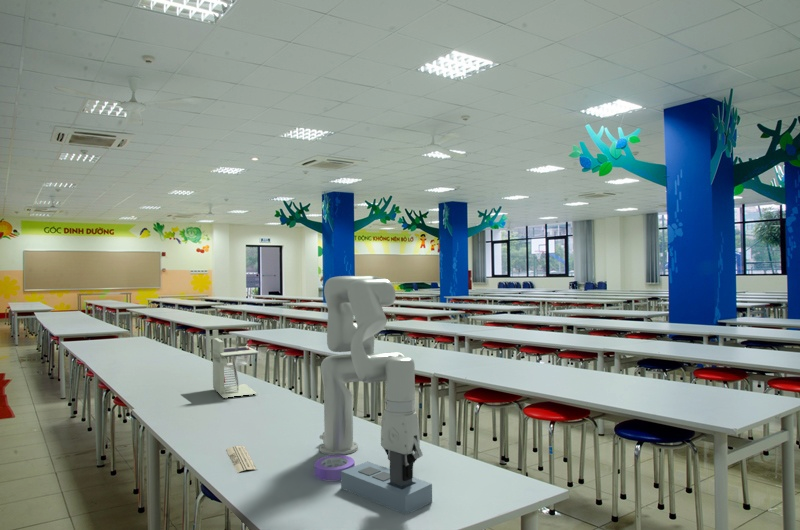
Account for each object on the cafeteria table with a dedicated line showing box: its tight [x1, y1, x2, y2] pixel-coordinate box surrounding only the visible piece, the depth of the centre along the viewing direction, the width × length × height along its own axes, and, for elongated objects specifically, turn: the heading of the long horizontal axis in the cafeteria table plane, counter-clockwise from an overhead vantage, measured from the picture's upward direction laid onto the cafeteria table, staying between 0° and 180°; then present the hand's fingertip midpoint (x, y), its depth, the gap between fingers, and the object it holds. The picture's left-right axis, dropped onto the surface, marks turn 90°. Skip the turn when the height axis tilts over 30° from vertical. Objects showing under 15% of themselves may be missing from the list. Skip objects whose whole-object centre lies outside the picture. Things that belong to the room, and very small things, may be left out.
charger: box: [389, 451, 412, 486], centre depth 136 cm, size 4×4×9 cm
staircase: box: [212, 329, 260, 399], centre depth 269 cm, size 27×18×30 cm, turn 29°
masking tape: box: [314, 455, 356, 482], centre depth 156 cm, size 12×12×4 cm
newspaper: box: [226, 445, 258, 474], centre depth 169 cm, size 24×7×2 cm, turn 25°
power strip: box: [340, 461, 433, 516], centre depth 142 cm, size 28×10×5 cm, turn 47°
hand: (401, 476), depth 136 cm, fingers closed on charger, 3 cm apart
